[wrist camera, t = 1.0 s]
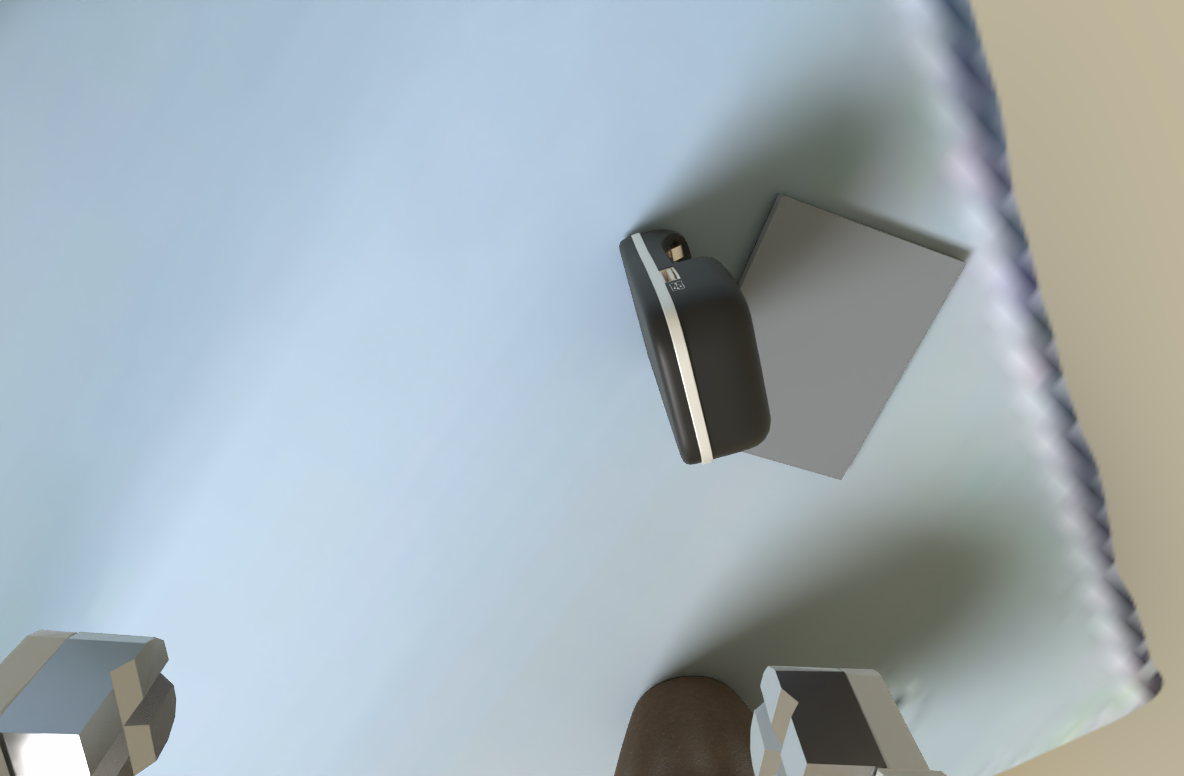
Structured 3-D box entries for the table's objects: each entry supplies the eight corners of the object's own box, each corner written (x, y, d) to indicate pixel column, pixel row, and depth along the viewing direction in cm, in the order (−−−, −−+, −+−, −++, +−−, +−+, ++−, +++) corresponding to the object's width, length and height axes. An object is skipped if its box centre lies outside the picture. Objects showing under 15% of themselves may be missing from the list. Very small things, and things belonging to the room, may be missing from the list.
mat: (673, 427, 39) (675, 432, 39) (778, 193, 34) (782, 195, 34) (837, 474, 41) (841, 480, 41) (959, 259, 36) (966, 263, 36)
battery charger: (722, 343, 37) (790, 461, 27) (650, 363, 38) (690, 488, 27) (693, 211, 34) (758, 287, 24) (615, 234, 35) (646, 319, 24)
